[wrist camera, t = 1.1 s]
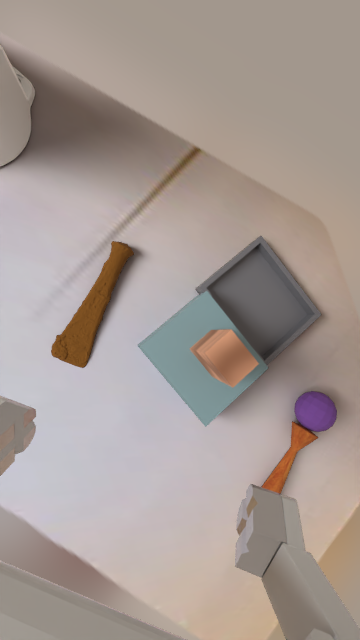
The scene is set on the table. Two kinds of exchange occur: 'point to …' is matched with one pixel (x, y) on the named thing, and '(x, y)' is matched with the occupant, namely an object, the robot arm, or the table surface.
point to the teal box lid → (185, 369)
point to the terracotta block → (224, 356)
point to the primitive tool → (91, 311)
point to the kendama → (303, 432)
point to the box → (261, 299)
